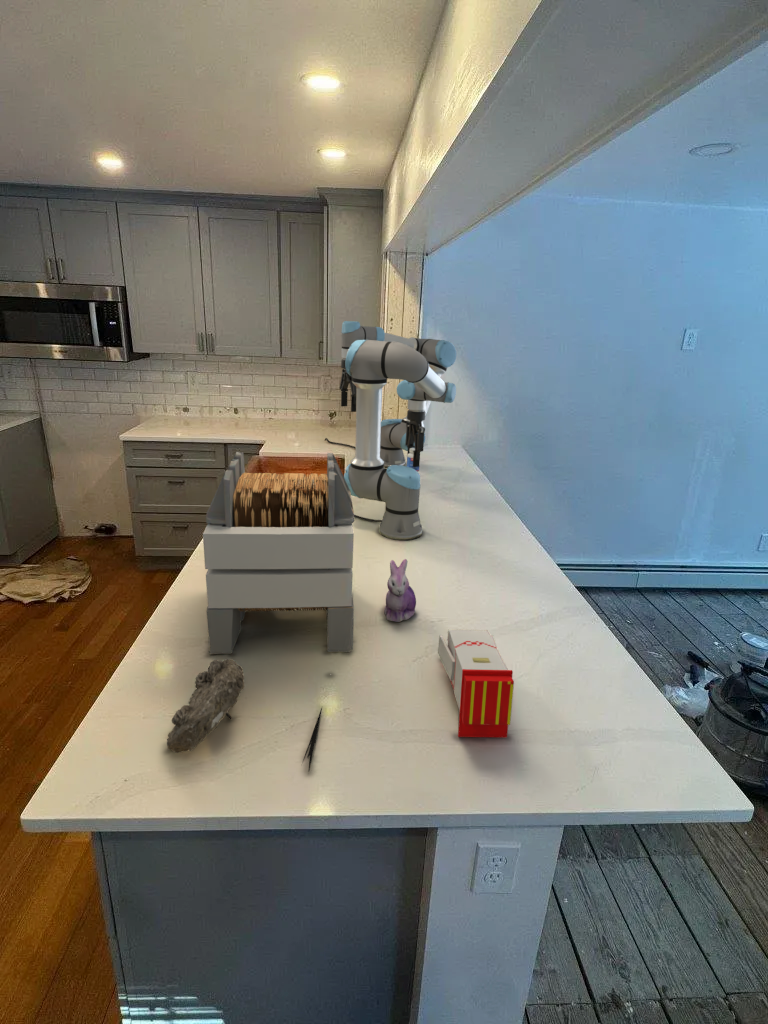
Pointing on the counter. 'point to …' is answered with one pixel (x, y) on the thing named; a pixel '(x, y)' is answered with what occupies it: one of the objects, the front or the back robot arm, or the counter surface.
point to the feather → (313, 740)
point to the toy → (478, 682)
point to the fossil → (206, 705)
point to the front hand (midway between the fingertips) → (413, 464)
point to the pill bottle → (411, 459)
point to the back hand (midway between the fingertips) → (349, 408)
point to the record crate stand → (279, 550)
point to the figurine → (399, 594)
